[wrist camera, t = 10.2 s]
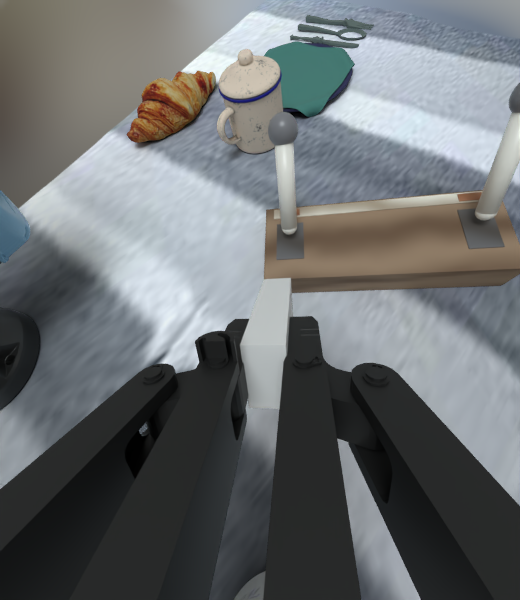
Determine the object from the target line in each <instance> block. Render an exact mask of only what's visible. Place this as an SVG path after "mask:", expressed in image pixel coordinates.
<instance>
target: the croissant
mask: <svg viewBox="0 0 520 600" xmlns="http://www.w3.org/2000/svg"><path fill="white" fill-rule="evenodd" d="M215 83H216V78H215V74H214V73H213V72H210V73H209V74H208V73H206V72H201V71H197V72H196V73H195V74H186V73H182V72H178V73H177V74H176V75H175V77H174V78H173V80H172V81H169V80H167V79H165V78H159V79H157V80H155V81H153V82H151V83H150V84H149V85H147V86H146V88H145V90H144V91H143V93H142V99H143V101H142V103H141V105H140V106H139V107H138V109H137V112H138V118H136V119H134V121H133V122H132V124H131V129H130V131H129V132H128V133H127V136H128V137H129V139H130V140H131V141H134V142H137V143H139V142H145V141H149V140H160V139H164V138H165V137H166V136H169V135H170V134H172V133H175V132H177V131H179V130H180V129H182V128H183V127H184V126H185V125H187V124H188V123H190V122H191V121H192V120H193V119H194V118H195V117H196V116H197V114H198V113H199V112H200V109H201V108H202V105H204V104H205V102H206V101H207V98H208V96H209V94H210V93H211V92H212V91H213V89H214V87H215Z"/></svg>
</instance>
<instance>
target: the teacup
mask: <svg viewBox="0 0 520 600" xmlns="http://www.w3.org/2000/svg"><path fill="white" fill-rule="evenodd" d="M265 572H266V571H264V572H262V573H260V574H258V575H256V576H255V577H253V578H252V579H251V580H249V581H248V582H247V583H246V584H245V585H244V586H243V587H242V589H241V590H240V591H239V592H238V594H237V595H236V597H235V598H234V600H263V595H264V583H265Z"/></svg>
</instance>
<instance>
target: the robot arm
mask: <svg viewBox="0 0 520 600" xmlns="http://www.w3.org/2000/svg"><path fill="white" fill-rule="evenodd" d="M29 237H30V227H29V224H28V222H27V220H26V219H25V217H24V216H23V214H22V213H21V212H20V211H19V209H18V208H17V207H16V206H15V205H14V204H13V203H12V202H11V200H10V199H9V198H8V197H6V195H5V194H4V193H3V192H2V191H1V190H0V264H1V263H2V262H3V263H6V262H7V261H8V260H9V256H11V255H12V254H13V253H14V252H15V251H16V250H17V249H18V248H20V247H21V246H22V245H23V244H24V243H25V242H26V241H27V240H28V239H29ZM195 344H196V349H197V353H198V357H199V364H198V366H197V368H196V369H194V370H191V371H186V372H182V373H177V374H176V373H175V369H174V368H173V366H171V365H169V364H157V365H152V366H150V367H147V368H145V369H144V370H142V371H141V372H139V373H138V374H137V375H135V376H134V377H133V378H132V379H131V380H129V381H128V382H127V383H126V384H125V385H124V386H122V387H121V388H120V389H119V390H118V391H116V392H115V393H114V394H113V395H112V396H110V397H109V398H108V399H107V400H106V401H105V402H103V403H102V404H101V405H100V406H99V407H97V408H96V409H95V410H94V411H93V412H92V413H90V414H89V415H88V416H87V417H86V418H84V419H83V420H82V421H81V422H80V423H78V424H77V425H76V426H75V427H74V428H73V429H71V430H70V431H69V432H68V433H67V434H65V435H64V436H63V437H62V438H61V439H59V440H58V441H57V442H56V443H55V444H54V445H52V446H51V447H50V448H49V449H48V450H46V451H45V452H44V453H43V454H42V455H40V456H39V457H38V458H37V459H36V460H35V461H33V462H32V463H31V464H30V465H29V466H27V467H26V468H25V469H24V470H23V471H22V472H20V473H19V474H18V475H17V476H16V477H14V478H13V479H12V480H11V481H10V482H8V483H7V484H6V485H5V486H4V487H3V488H1V489H0V600H208V599H209V594H210V590H211V585H212V580H213V576H214V571H215V566H216V562H217V557H218V552H219V548H220V543H221V538H222V534H223V529H224V524H225V520H226V515H227V510H228V506H229V501H230V496H231V492H232V487H233V482H234V478H235V473H236V468H237V464H238V459H239V454H240V450H241V445H242V440H243V435H244V431H245V426H246V421H247V414H246V403H247V399H248V403H249V408H260V409H279V421H278V432H277V444H276V456H275V467H274V479H273V490H272V502H271V514H270V525H269V537H268V549H267V560H266V572H265V583H264V595H263V600H361V595H360V588H359V581H358V575H357V568H356V561H355V555H354V548H353V541H352V535H351V528H350V522H349V515H348V508H347V502H346V495H345V488H344V482H343V475H342V468H341V462H340V455H339V448H338V442H337V438H338V439H341V440H344V441H347V442H349V446H350V448H351V451H352V453H353V455H354V457H355V459H356V461H357V463H358V466H359V468H360V470H361V472H362V474H363V476H364V478H365V481H366V483H367V485H368V487H369V489H370V491H371V493H372V496H373V498H374V500H375V502H376V504H377V506H378V508H379V511H380V513H381V515H382V517H383V519H384V521H385V523H386V526H387V528H388V530H389V532H390V534H391V536H392V538H393V541H394V543H395V545H396V547H397V549H398V551H399V553H400V556H401V558H402V560H403V562H404V564H405V566H406V568H407V571H408V573H409V575H410V577H411V579H412V581H413V583H414V586H415V588H416V590H417V592H418V594H419V596H420V598H421V600H520V506H519V505H518V504H517V503H516V502H515V500H514V499H513V498H512V497H511V496H510V495H509V494H508V493H507V492H506V491H505V490H504V488H503V487H502V486H501V485H500V484H499V483H498V482H497V481H496V480H495V479H494V478H493V477H492V475H491V474H490V473H489V472H488V471H487V470H486V469H485V468H484V467H483V466H482V465H481V463H480V462H479V461H478V460H477V459H476V458H475V457H474V456H473V455H472V454H471V453H470V451H469V450H468V449H467V448H466V447H465V446H464V445H463V444H462V443H461V442H460V441H459V440H458V438H457V437H456V436H455V435H454V434H453V433H452V432H451V431H450V430H449V429H448V428H447V426H446V425H445V424H444V423H443V422H442V421H441V420H440V419H439V418H438V417H437V416H436V414H435V413H434V412H433V411H432V410H431V409H430V408H429V407H428V406H427V405H426V404H425V403H424V401H423V400H422V399H421V398H420V397H419V396H418V395H417V394H416V393H415V392H414V391H413V389H412V388H411V387H410V386H409V385H408V384H407V383H406V382H405V381H404V380H403V379H402V377H401V376H400V375H399V374H398V373H396V372H395V371H394V370H393V369H391V368H389V367H387V366H384V365H381V364H376V363H364V364H360V365H357V366H356V367H355V368H354V369H353V370H352V373H351V372H346V371H342V370H339V369H336V368H334V367H332V366H330V365H329V364H328V363H326V361H325V360H324V358H323V355H322V348H321V341H320V334H319V327H318V322H317V321H316V320H315V319H314V318H313V317H312V316H308V317H293V308H292V290H291V278H278V279H264V280H263V283H262V285H261V288H260V291H259V294H258V296H257V299H256V302H255V305H254V308H253V310H252V313H251V316H250V319H235V320H233V321H232V322H231V323H230V324H228V326H227V328H226V330H225V331H215V332H210V333H207V334H204V335H202V336H201V337H199V338H198V339H197V340H196V341H195ZM38 352H39V333H38V329H37V327H36V324H35V323H34V321H33V320H32V319H31V318H30V317H29V316H27V315H25V314H23V313H20V312H17V311H14V310H11V309H8V308H2V307H0V409H2V408H3V407H4V406H6V405H7V404H8V403H9V402H10V401H11V400H12V399H13V398H14V397H15V396H16V395H17V394H18V392H19V391H20V390H21V389H22V387H23V386H24V384H25V383H26V381H27V380H28V378H29V376H30V374H31V372H32V370H33V368H34V366H35V363H36V360H37V356H38ZM145 423H146V424H147V427H148V429H147V430H146V431H145V432H143V433H142V434H140V433H139V429H140V428H141V427H142V426H143V425H144V424H145Z"/></svg>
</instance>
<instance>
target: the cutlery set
mask: <svg viewBox="0 0 520 600" xmlns="http://www.w3.org/2000/svg"><path fill="white" fill-rule="evenodd" d="M306 22H307V23H308V22H313V23H319V24H328V25H343V26H347V28H352V29H343V30H340V31H338V32H335V31H332V30H327V29H324V28H320V27H315V26H309V25H304V24H299V25H298V30H309V31H319V32H323V33H329V34H334V35H338V36H339V37H340V38H341V39H344V40H357V39H361V38H363V37H365V35H366V34H367V33H366V32H364V31H363V30H359V29H369V30H371V28H372V27H373V26H374V25H369V24H365V23H361V22H357V21H354V20H353V19H350V20H348V19H347V18H346V19H345V20H328V19H323V18H319V17H316V16H310V15H307V16H306ZM365 27H366V28H365ZM346 32H356V33H360V34H361V35H362V37H359V38H346V37H342V36H341V34H343V33H346ZM290 39H291V40H292V39H303V40H310V41H312V42H314V43H302V42H292V43H288V44H284V45H281V46H278V47H276V48H273V49H270V50H268V51H267V52H266V54H265V55H264V56H265V57H269V58H271V59H273V60H274V61H276V62H277V64H278V65H279V67H280V70H281V73H282V77H281V81H280V82H281V93H282V104H283V112H298V111H300V112H302V113H303V114H304V115H306V116H307V117H311V116H315V115H317V114H318V113H319V112H320V111H321V110H322V109H323V107H324V106H325V104H326V102H327V101H329V100H331V99H333V98H335V97H336V96H337V95H338V94H339V93H340V92H341V91H342V90H343V89H344V88H345V87H346V86H347V84H348V82H349V80H350V78H351V76H352V67H353V66H354V65H355V64H354V63H353V61H352V60H351V58H350V57H349V55H348V54H347V52H345V50H344V49H342V48H338V47H346V48H356V47H358V46H359V44H354V43H346V42H338V41H330V40H323V37H322V38H319V37H318V36H317V37H313V38H309V37H297V36H293V35H291V36H290ZM322 43H323V44H322ZM325 44H327V45H325ZM329 45H332V46H329ZM333 46H338V47H333Z"/></svg>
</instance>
